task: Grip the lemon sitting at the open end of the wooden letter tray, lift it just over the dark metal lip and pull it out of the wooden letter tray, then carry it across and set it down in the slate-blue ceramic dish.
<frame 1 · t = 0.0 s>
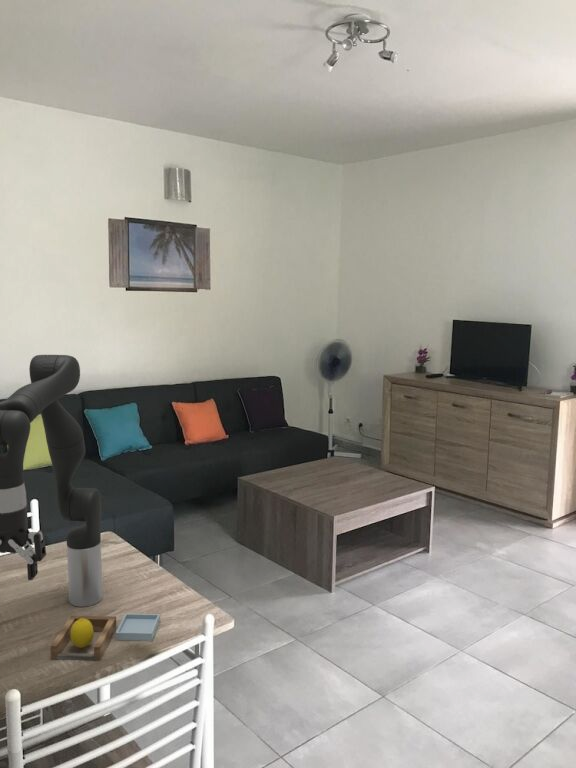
hand: (11, 578, 133), 29 cm above the table, fingers open, 8 cm apart
dish: (138, 630, 167), on the table
wooden letter tray: (85, 643, 161), on the table
lemon: (82, 648, 159), resting in wooden letter tray
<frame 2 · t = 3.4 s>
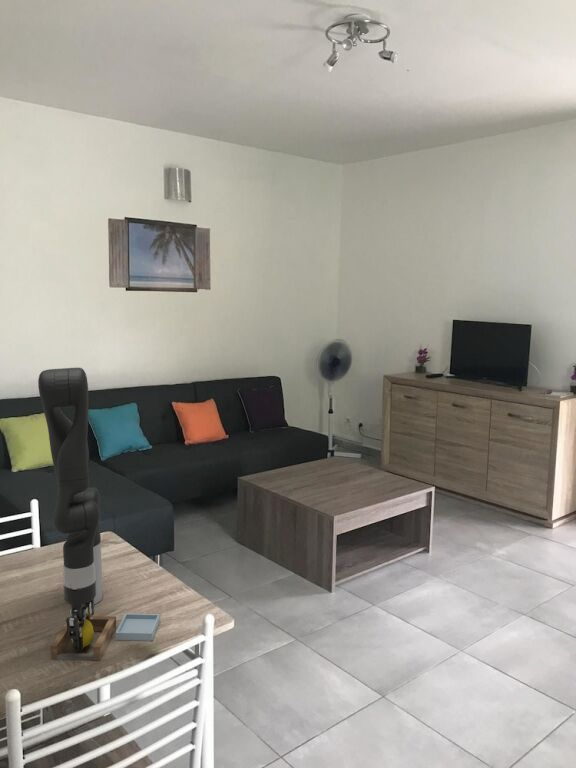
hand: (82, 642, 158), 2 cm above the table, fingers closed on lemon, 5 cm apart
lemon: (82, 648, 159), resting in wooden letter tray, touching gripper
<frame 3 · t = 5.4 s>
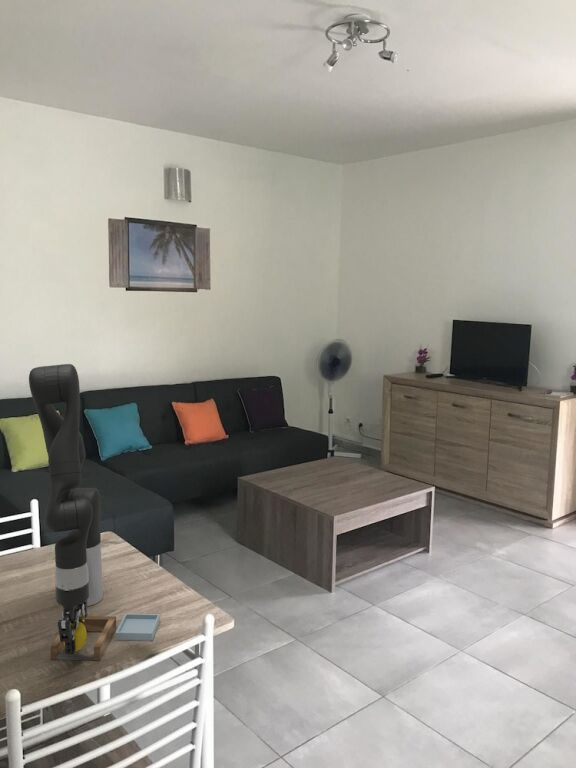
hand: (74, 645, 153), 4 cm above the table, fingers closed on lemon, 5 cm apart
lemon: (75, 652, 153), point 2 cm above the table, touching gripper
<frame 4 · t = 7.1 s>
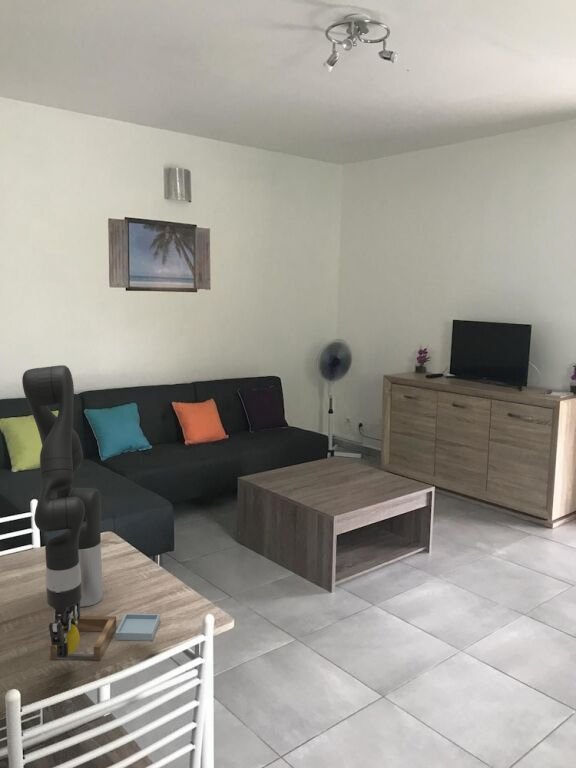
hand: (67, 648, 147), 7 cm above the table, fingers closed on lemon, 5 cm apart
lemon: (68, 655, 148), point 5 cm above the table, touching gripper
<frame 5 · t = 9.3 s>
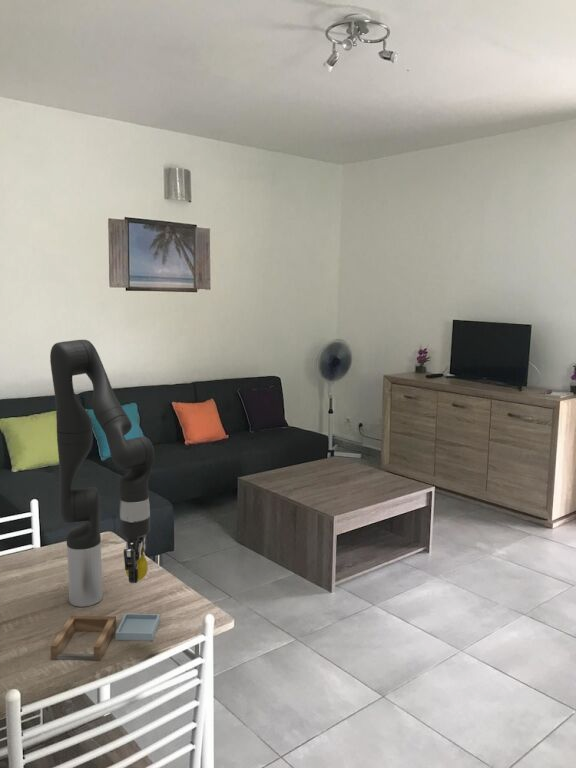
hand: (136, 576, 164), 15 cm above the table, fingers closed on lemon, 5 cm apart
lemon: (137, 582, 165), point 14 cm above the table, touching gripper
when the fingers open (4 cm above the table, at t = 11.0 s): lemon drops 1 cm, resting on dish.
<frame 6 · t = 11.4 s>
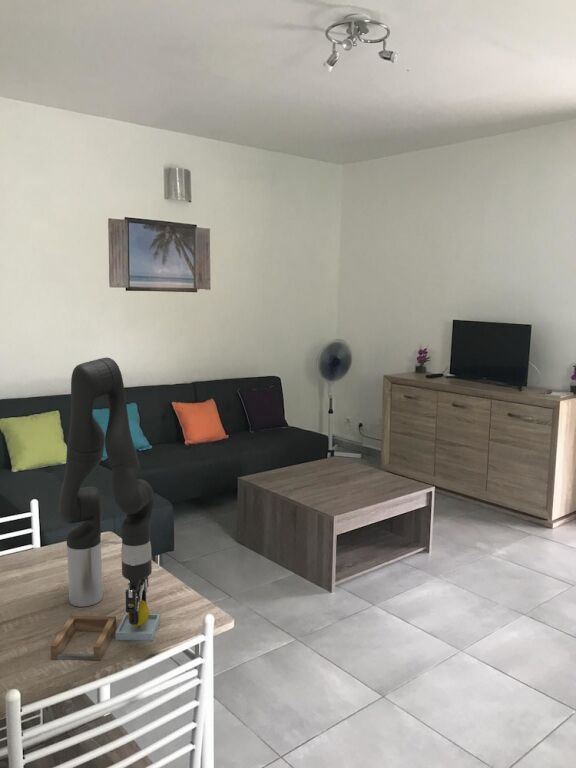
hand: (138, 614, 166), 4 cm above the table, fingers open, 8 cm apart
lemon: (138, 628, 167), point 1 cm above the table, touching dish
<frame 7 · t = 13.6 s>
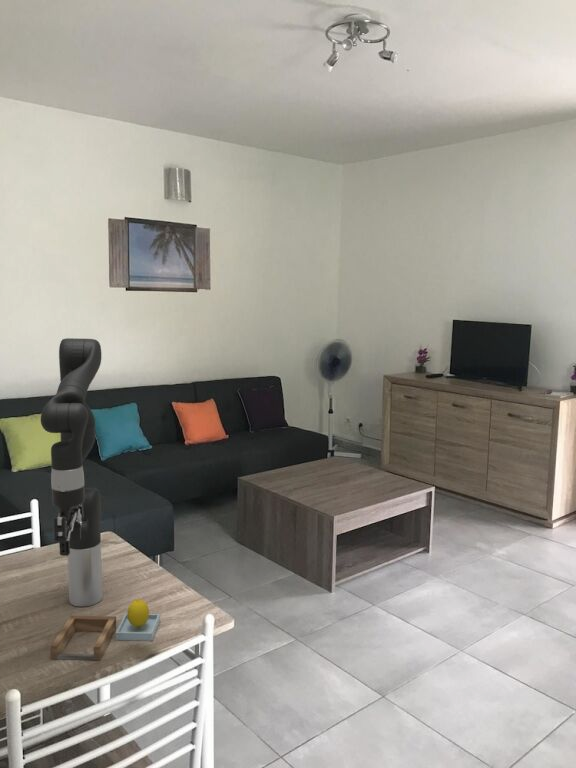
hand: (70, 547, 155), 26 cm above the table, fingers open, 8 cm apart
nothing on the table moved.
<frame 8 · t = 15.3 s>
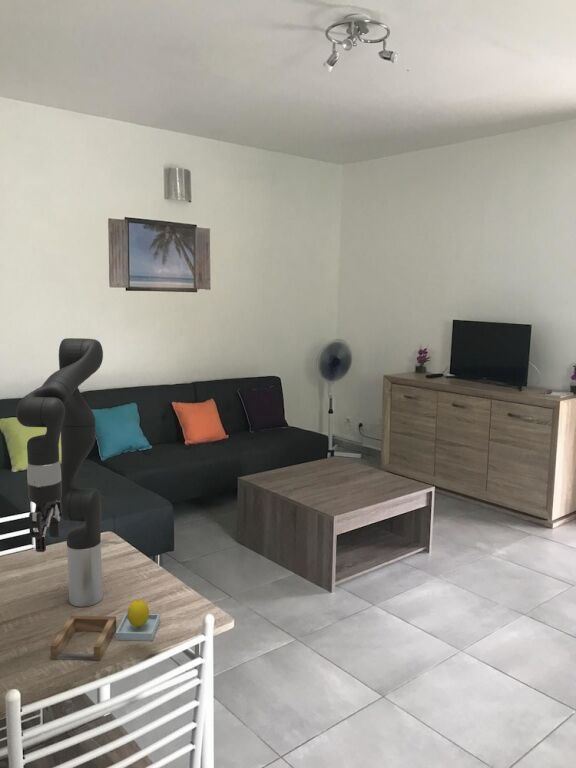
hand: (47, 543, 153), 28 cm above the table, fingers open, 8 cm apart
nothing on the table moved.
at the end: lemon 0.1 cm from the dish (horizontally); lemon point 0.6 cm above the table; the gripper is holding nothing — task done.
